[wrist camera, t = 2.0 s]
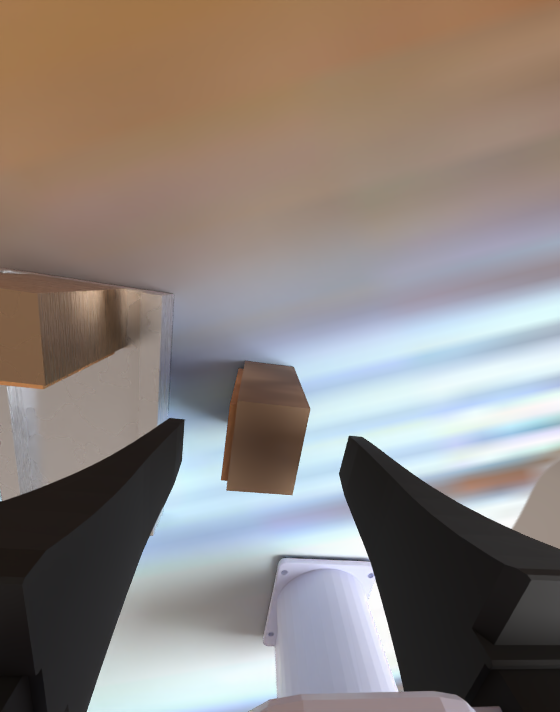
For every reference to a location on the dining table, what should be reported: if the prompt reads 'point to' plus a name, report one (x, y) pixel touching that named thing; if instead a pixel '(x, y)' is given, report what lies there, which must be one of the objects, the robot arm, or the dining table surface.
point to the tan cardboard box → (265, 430)
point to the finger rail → (77, 374)
